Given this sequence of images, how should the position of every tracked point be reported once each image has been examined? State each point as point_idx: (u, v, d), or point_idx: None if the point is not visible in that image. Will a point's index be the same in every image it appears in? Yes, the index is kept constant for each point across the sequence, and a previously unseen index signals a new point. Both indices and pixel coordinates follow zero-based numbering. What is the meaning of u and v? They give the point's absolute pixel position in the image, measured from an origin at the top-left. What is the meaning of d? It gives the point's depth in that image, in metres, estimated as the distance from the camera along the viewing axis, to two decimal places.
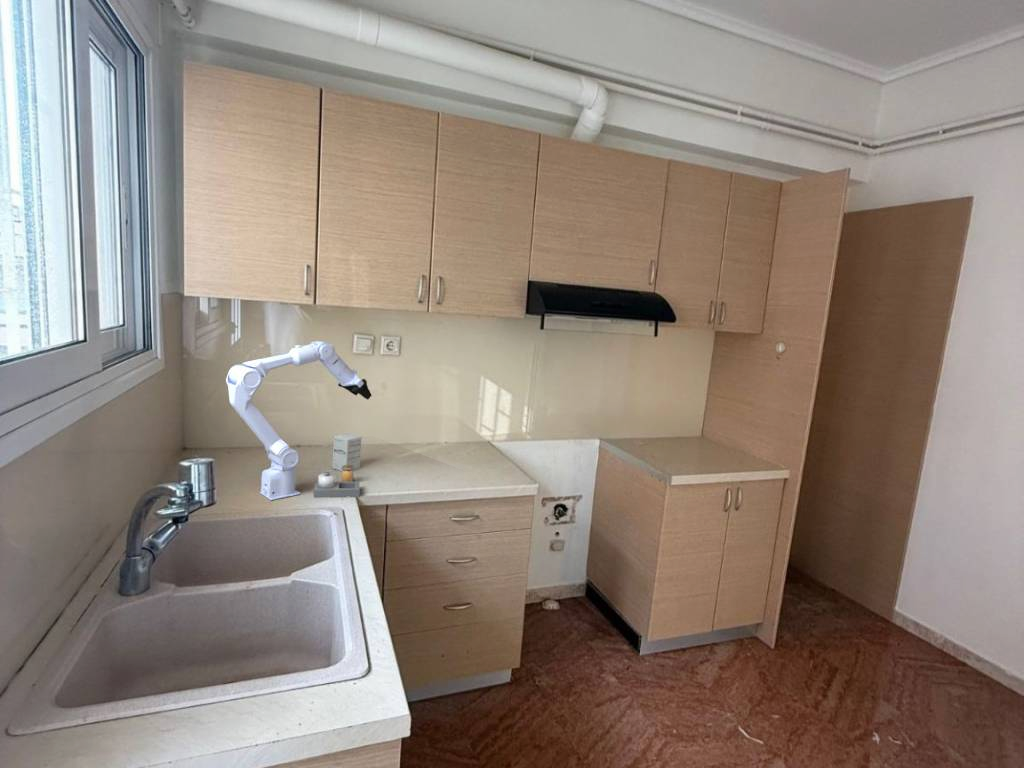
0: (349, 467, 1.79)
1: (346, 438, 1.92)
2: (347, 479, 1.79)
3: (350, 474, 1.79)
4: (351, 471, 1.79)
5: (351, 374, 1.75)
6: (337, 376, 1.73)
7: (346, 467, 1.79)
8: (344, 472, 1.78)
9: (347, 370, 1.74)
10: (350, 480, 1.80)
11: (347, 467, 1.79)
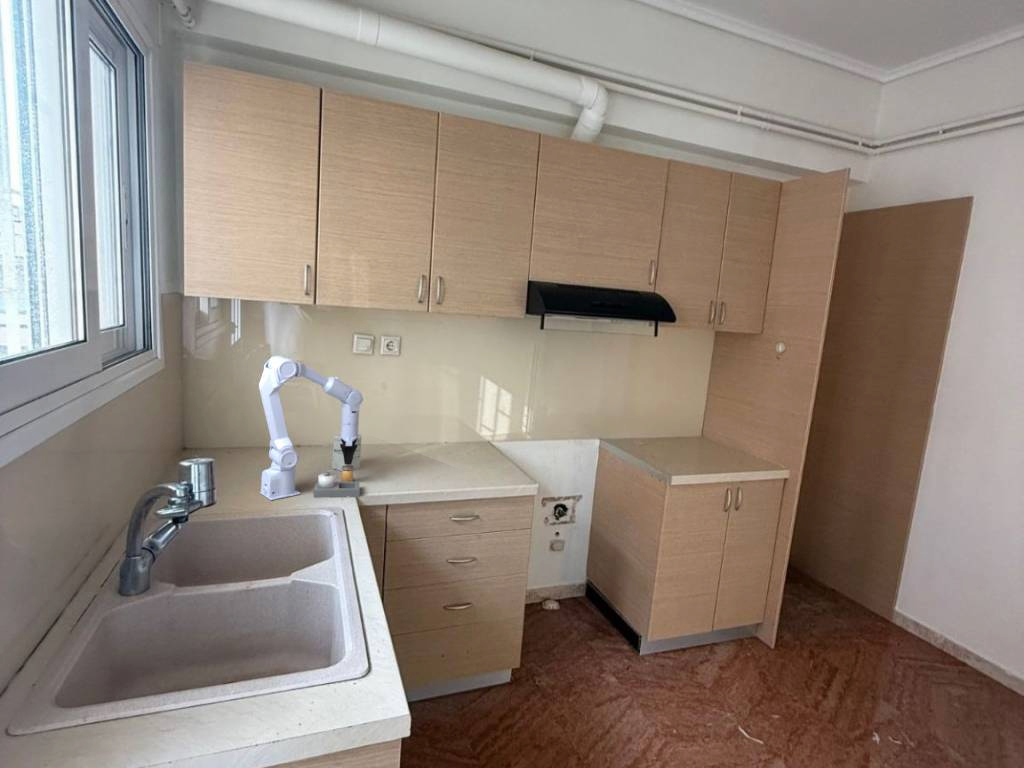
0: (349, 467, 1.79)
1: None
2: (347, 479, 1.79)
3: (350, 474, 1.79)
4: (351, 471, 1.79)
5: (352, 433, 1.76)
6: (342, 424, 1.76)
7: (346, 467, 1.79)
8: (344, 472, 1.78)
9: (352, 427, 1.76)
10: (350, 480, 1.80)
11: (347, 467, 1.79)
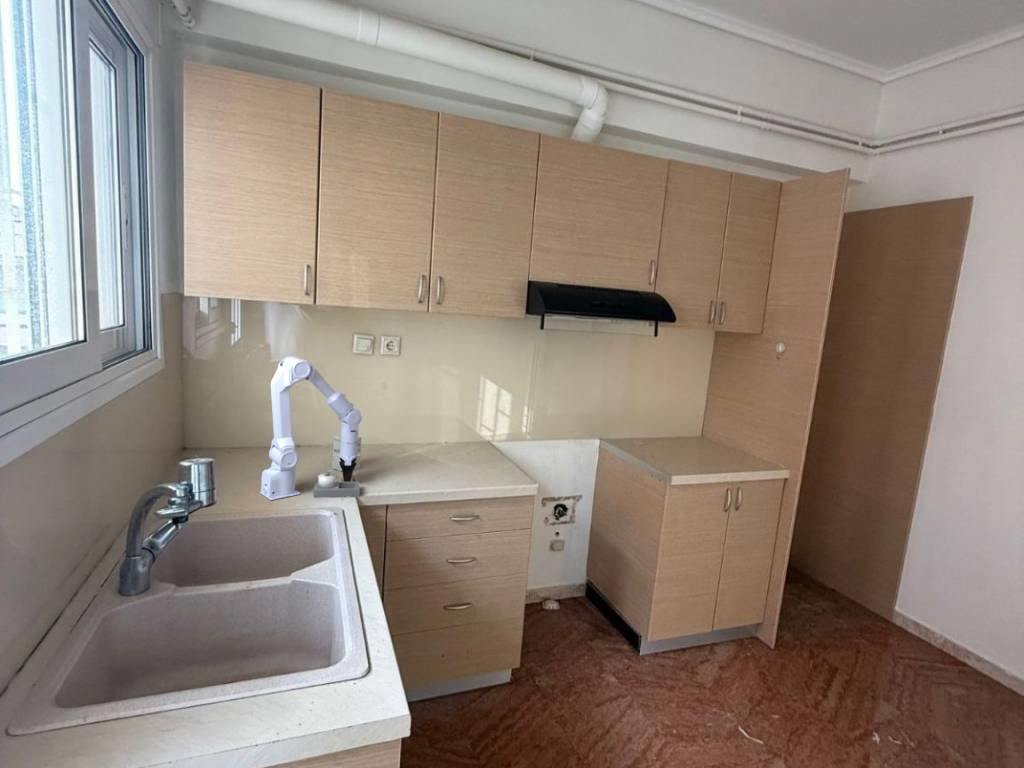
0: None
1: None
2: None
3: None
4: None
5: (352, 452, 1.77)
6: (341, 444, 1.77)
7: None
8: None
9: (352, 446, 1.77)
10: None
11: None
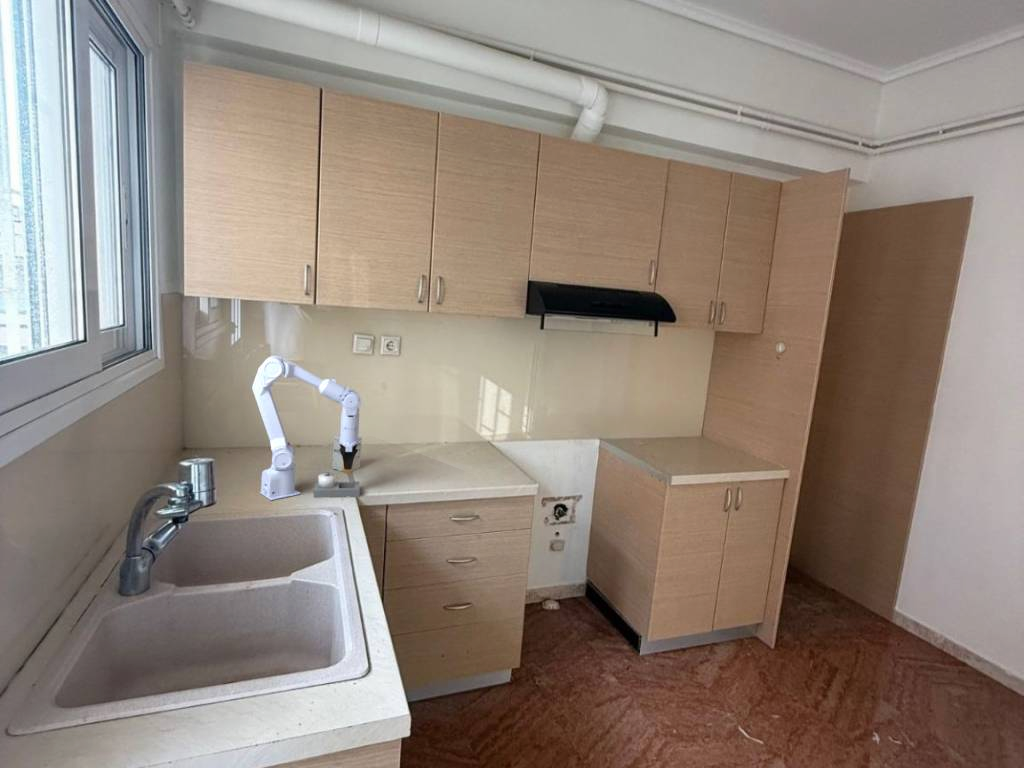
0: None
1: None
2: None
3: None
4: None
5: (352, 438, 1.69)
6: (341, 429, 1.68)
7: None
8: None
9: (352, 432, 1.68)
10: (351, 468, 1.71)
11: None
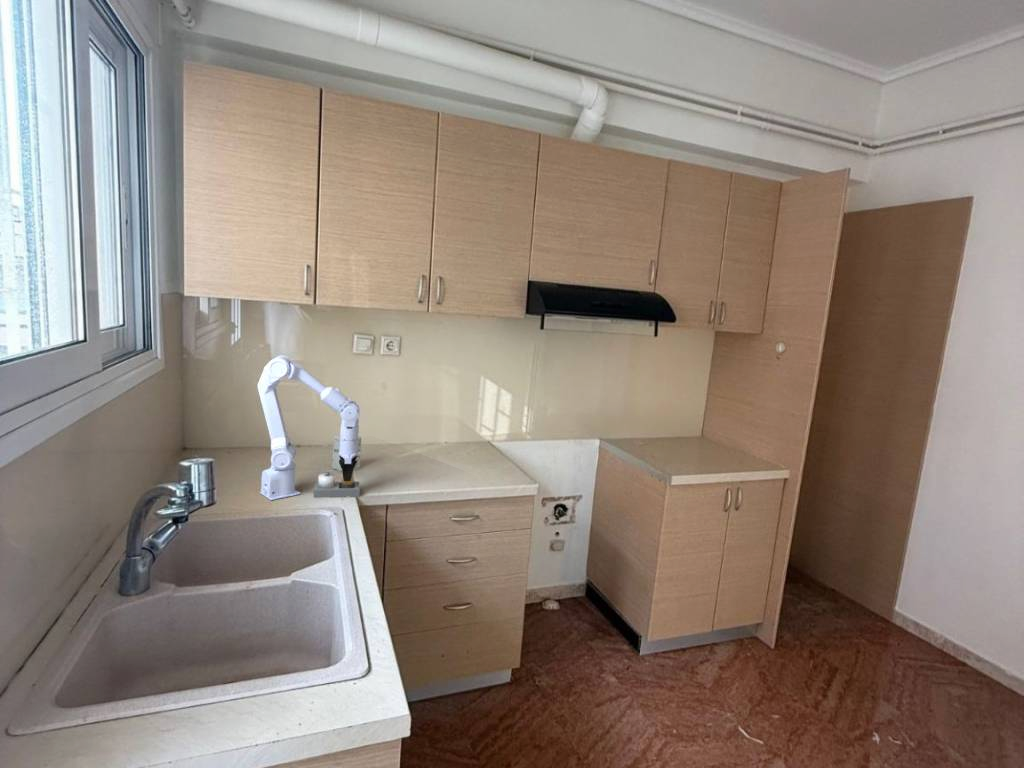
0: None
1: None
2: None
3: None
4: None
5: (352, 450, 1.68)
6: (340, 441, 1.67)
7: None
8: None
9: (352, 443, 1.67)
10: None
11: None
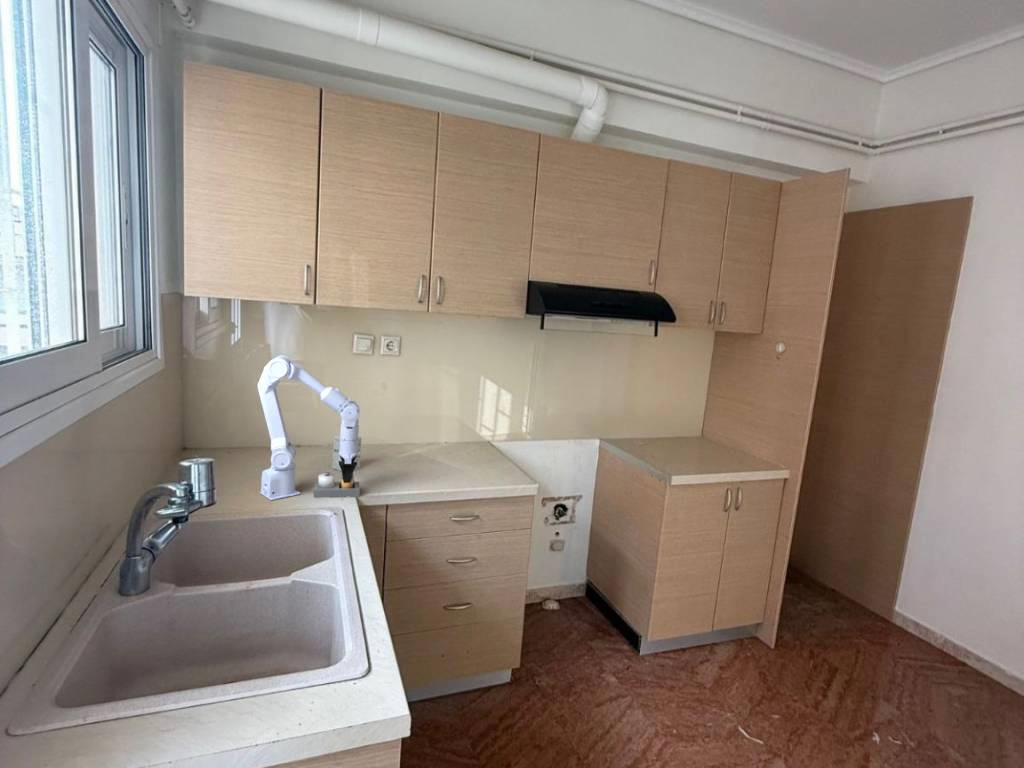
0: None
1: None
2: None
3: (350, 483, 1.70)
4: (351, 480, 1.70)
5: (352, 450, 1.68)
6: (340, 441, 1.67)
7: None
8: None
9: (352, 443, 1.67)
10: None
11: None
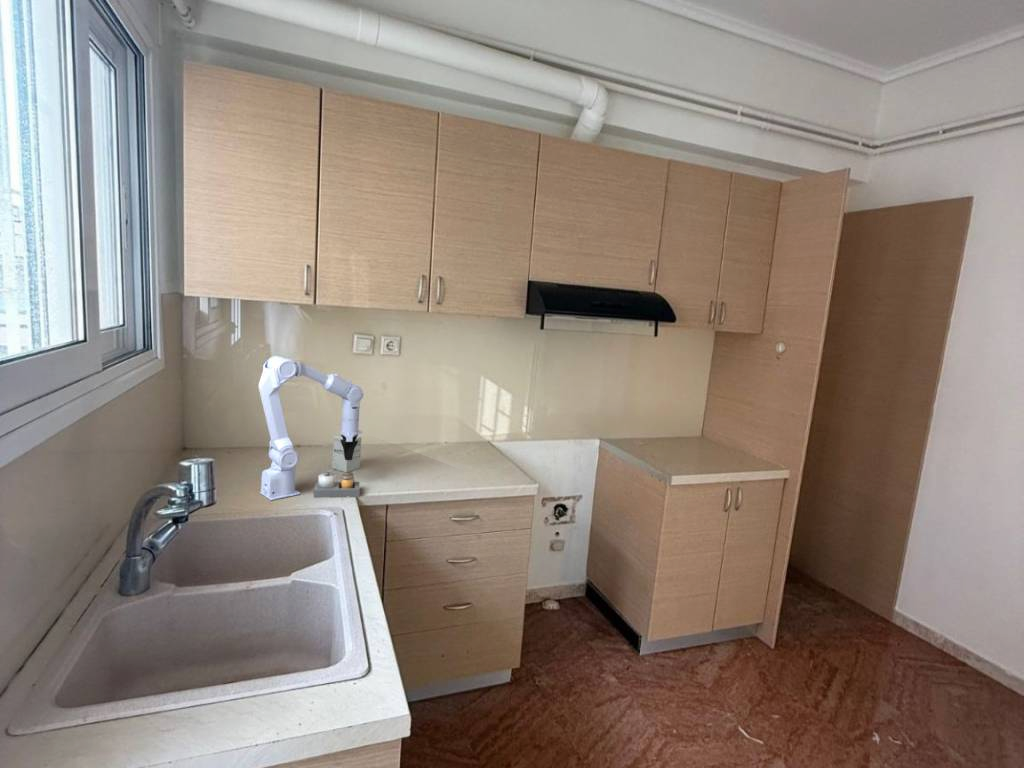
0: (349, 476, 1.71)
1: None
2: None
3: (350, 483, 1.70)
4: (351, 480, 1.70)
5: (353, 429, 1.77)
6: (342, 420, 1.76)
7: (345, 475, 1.71)
8: (344, 481, 1.70)
9: (353, 423, 1.76)
10: None
11: (347, 476, 1.70)
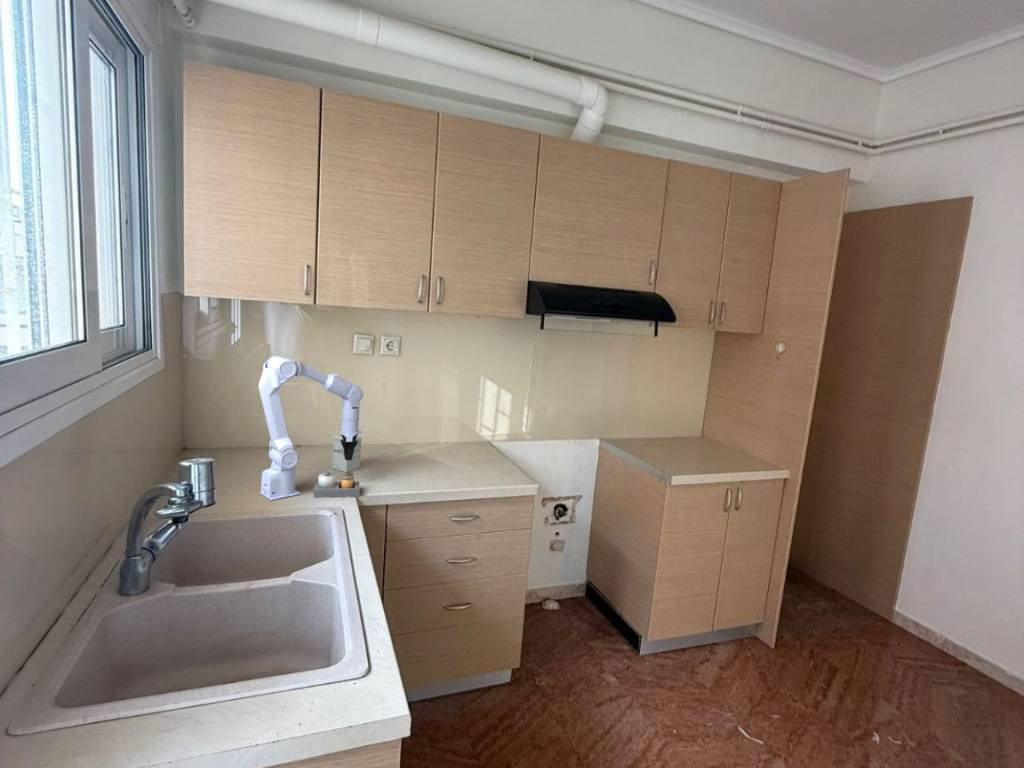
0: (349, 476, 1.71)
1: None
2: None
3: (350, 483, 1.70)
4: (351, 480, 1.70)
5: (353, 429, 1.77)
6: (342, 420, 1.76)
7: (345, 475, 1.71)
8: (344, 481, 1.70)
9: (353, 423, 1.76)
10: None
11: (347, 476, 1.70)
